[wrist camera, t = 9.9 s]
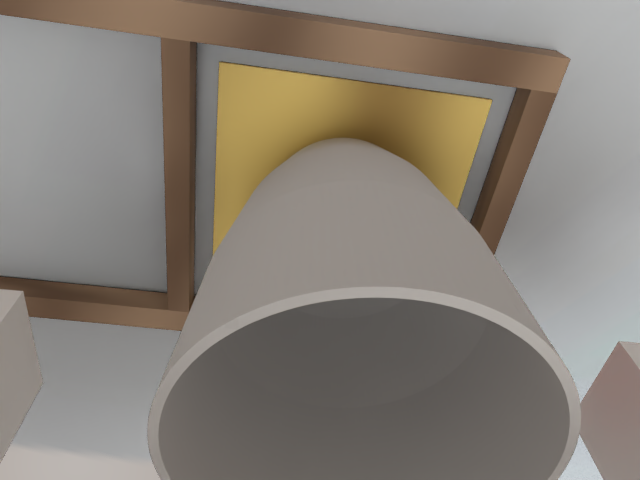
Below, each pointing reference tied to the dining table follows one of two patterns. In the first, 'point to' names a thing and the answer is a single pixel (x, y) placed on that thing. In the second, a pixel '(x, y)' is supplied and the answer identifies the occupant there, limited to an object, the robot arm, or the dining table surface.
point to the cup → (359, 341)
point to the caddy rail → (300, 122)
